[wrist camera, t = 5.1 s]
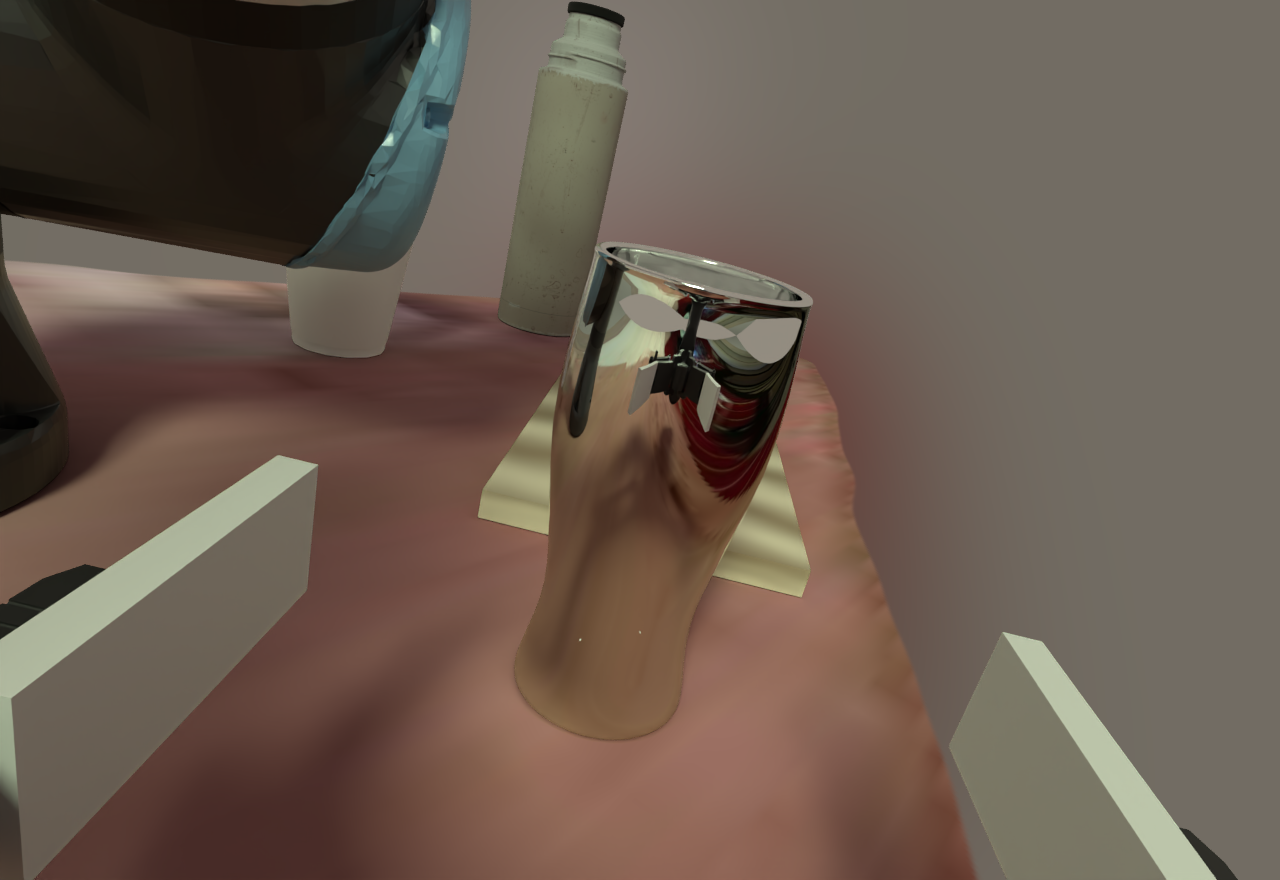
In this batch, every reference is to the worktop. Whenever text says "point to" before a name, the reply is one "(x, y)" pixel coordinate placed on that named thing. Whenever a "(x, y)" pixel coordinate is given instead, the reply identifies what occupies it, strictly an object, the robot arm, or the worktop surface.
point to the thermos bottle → (565, 173)
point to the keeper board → (754, 555)
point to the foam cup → (344, 308)
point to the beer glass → (651, 475)
